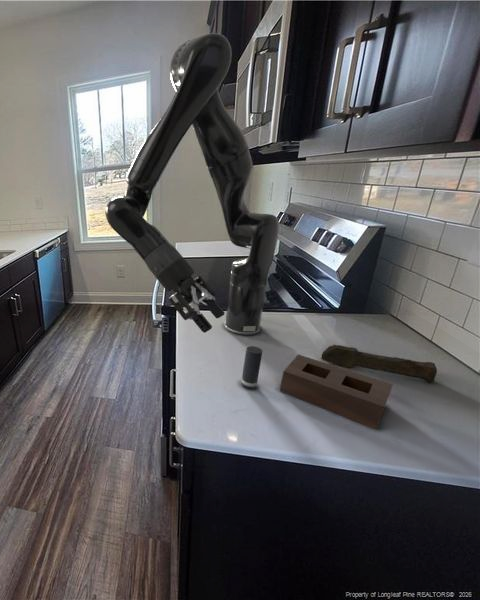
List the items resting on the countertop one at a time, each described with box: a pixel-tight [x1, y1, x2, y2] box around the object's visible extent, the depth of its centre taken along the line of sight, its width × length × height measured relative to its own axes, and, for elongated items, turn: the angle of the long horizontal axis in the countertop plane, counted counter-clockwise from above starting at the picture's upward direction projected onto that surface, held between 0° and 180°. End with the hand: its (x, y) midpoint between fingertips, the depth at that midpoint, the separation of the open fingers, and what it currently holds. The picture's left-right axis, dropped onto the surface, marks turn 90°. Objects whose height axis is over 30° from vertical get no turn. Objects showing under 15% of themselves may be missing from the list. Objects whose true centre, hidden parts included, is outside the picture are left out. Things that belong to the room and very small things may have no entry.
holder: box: [279, 354, 394, 430], centre depth 63 cm, size 9×16×5 cm, turn 41°
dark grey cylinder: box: [240, 345, 263, 391], centre depth 68 cm, size 3×3×9 cm
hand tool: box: [320, 344, 438, 384], centre depth 71 cm, size 19×4×5 cm, turn 58°
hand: (215, 323), depth 70 cm, fingers open, 8 cm apart
